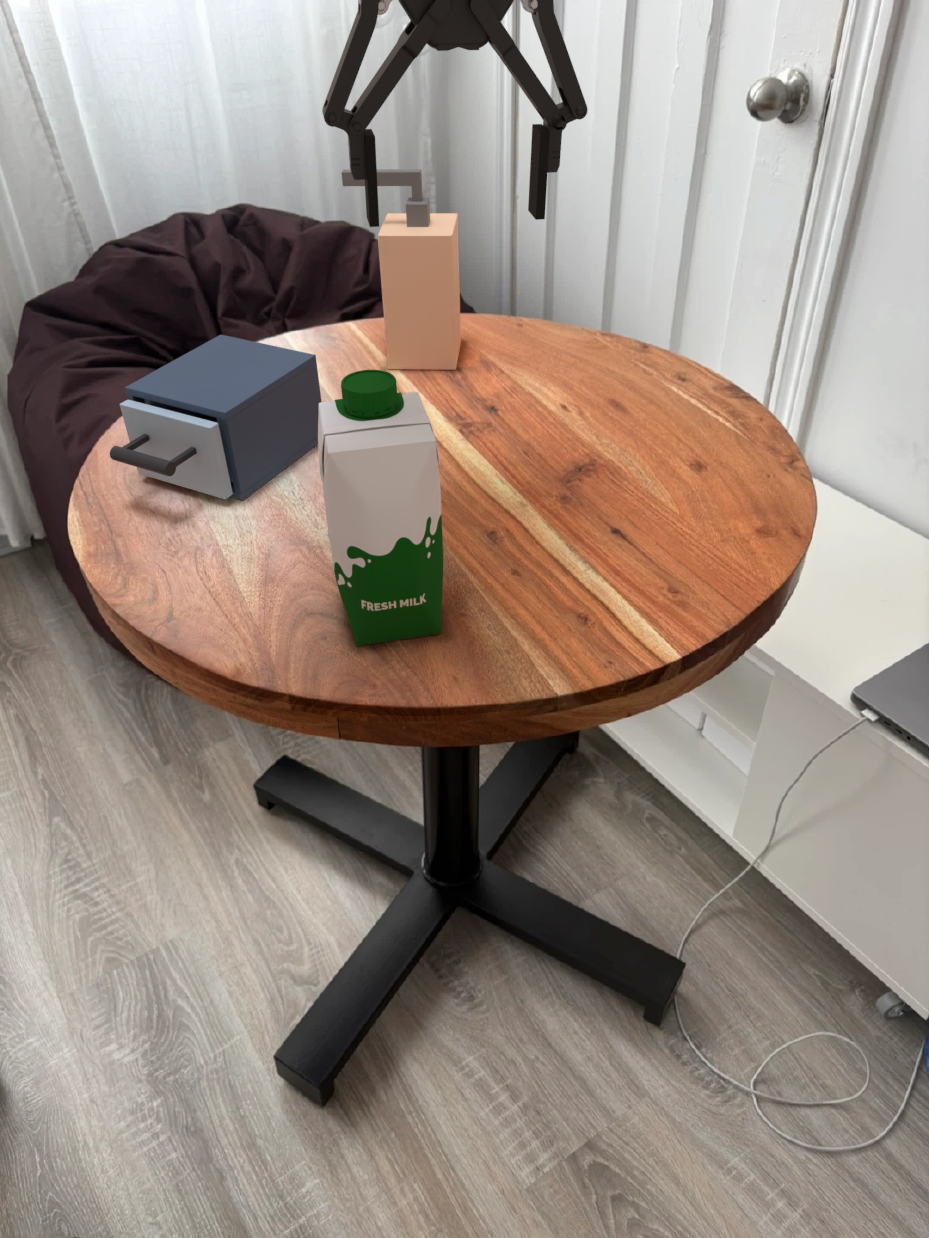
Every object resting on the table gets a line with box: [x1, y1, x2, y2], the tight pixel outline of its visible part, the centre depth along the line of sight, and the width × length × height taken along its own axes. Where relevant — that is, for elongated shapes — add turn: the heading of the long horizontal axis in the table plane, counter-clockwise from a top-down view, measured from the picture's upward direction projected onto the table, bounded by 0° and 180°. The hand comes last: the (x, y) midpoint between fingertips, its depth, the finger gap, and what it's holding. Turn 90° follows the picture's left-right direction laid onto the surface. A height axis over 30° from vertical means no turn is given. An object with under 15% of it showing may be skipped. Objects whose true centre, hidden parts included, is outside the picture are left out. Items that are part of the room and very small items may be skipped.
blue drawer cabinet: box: [124, 334, 323, 502], centre depth 96 cm, size 15×13×10 cm
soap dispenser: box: [341, 168, 462, 371], centre depth 112 cm, size 13×9×22 cm
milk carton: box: [317, 369, 444, 647], centre depth 71 cm, size 9×9×20 cm
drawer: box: [109, 399, 233, 500], centre depth 93 cm, size 18×11×8 cm, turn 152°
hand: (455, 219), depth 76 cm, fingers open, 13 cm apart
